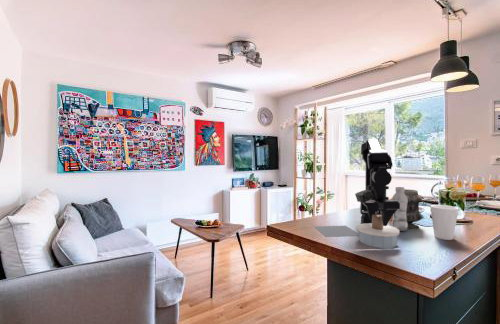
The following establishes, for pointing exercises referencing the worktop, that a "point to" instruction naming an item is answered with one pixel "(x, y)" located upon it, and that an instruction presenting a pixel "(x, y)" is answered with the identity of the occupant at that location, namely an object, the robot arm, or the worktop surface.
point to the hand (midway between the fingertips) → (377, 222)
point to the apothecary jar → (413, 208)
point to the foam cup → (444, 221)
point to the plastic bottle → (400, 210)
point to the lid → (378, 228)
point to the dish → (378, 241)
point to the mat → (336, 231)
